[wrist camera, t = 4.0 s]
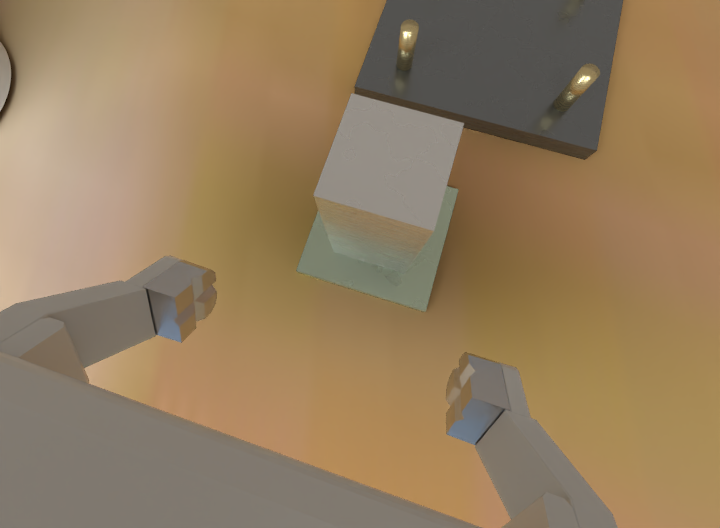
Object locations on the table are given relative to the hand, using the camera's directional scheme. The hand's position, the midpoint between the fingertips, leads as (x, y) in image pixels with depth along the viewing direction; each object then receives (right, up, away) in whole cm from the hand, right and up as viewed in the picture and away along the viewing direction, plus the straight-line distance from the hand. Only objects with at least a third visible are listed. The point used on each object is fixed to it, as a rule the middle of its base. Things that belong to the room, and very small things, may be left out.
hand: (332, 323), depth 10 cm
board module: (+2, +4, +13) cm, 13 cm away
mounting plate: (+12, +21, +16) cm, 29 cm away
